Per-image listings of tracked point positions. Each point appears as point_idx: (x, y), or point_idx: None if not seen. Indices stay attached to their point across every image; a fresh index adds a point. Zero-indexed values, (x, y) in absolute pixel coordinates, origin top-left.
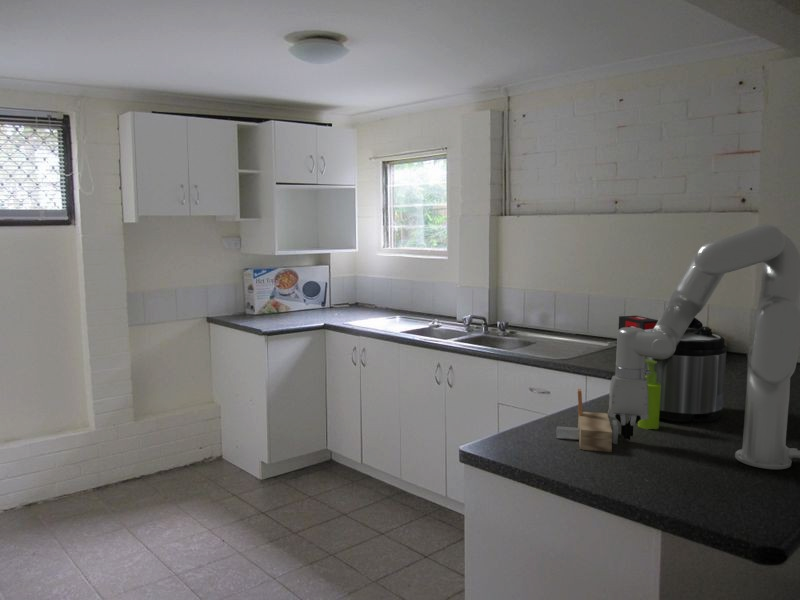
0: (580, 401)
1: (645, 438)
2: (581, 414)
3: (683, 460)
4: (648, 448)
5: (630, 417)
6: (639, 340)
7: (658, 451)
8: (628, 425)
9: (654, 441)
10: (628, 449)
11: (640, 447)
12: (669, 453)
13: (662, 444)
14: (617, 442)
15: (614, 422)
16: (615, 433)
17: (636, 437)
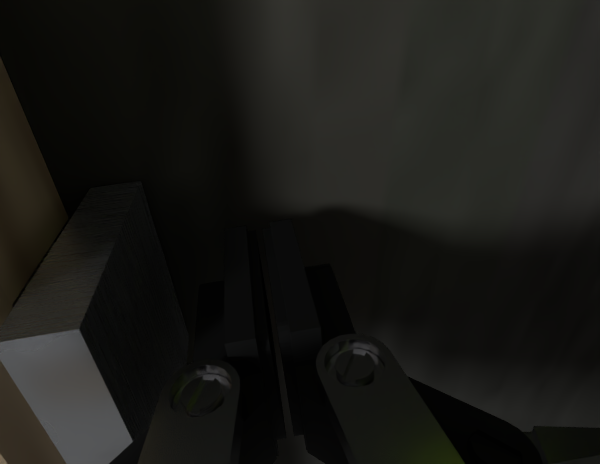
0: None
1: (470, 26)
2: None
3: (586, 413)
4: (433, 312)
5: (349, 451)
6: None
7: (490, 341)
8: (297, 417)
9: (538, 107)
10: (282, 384)
11: (374, 314)
12: (552, 347)
13: (581, 173)
14: (187, 347)
15: (85, 447)
16: None
17: (371, 23)
